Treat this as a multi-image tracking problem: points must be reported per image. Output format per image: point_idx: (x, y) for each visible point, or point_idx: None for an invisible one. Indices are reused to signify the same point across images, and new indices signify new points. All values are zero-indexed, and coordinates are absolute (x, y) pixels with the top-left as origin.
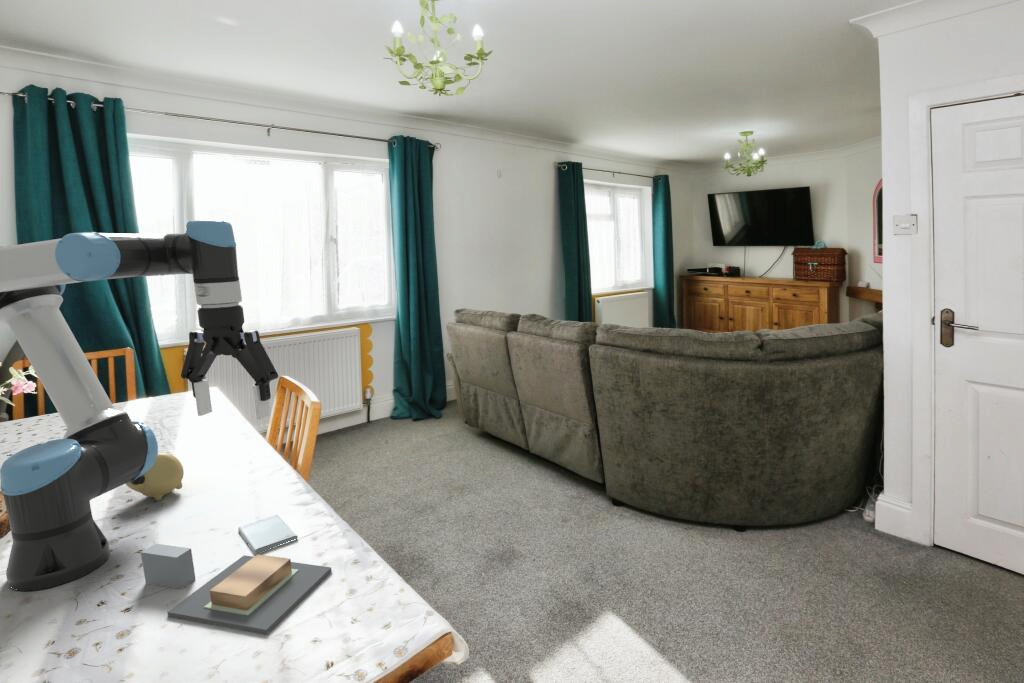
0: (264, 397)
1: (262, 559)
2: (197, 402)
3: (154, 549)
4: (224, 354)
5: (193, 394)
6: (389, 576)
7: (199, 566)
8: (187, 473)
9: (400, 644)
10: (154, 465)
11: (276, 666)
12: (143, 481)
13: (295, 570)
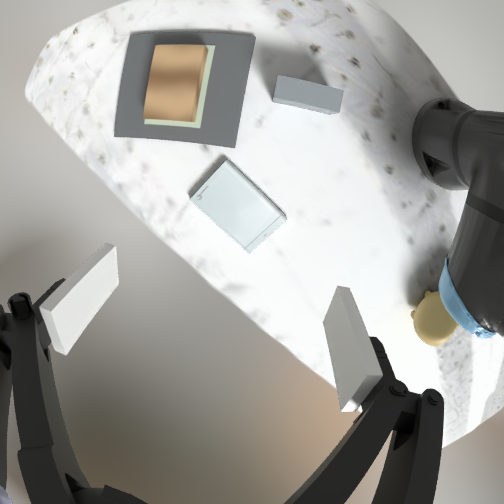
0: (56, 284)
1: (176, 111)
2: (356, 315)
3: (328, 96)
4: (138, 502)
5: (381, 345)
6: (66, 141)
7: (287, 129)
8: (417, 348)
9: (40, 67)
10: (445, 320)
11: (110, 14)
12: None
13: (147, 122)
